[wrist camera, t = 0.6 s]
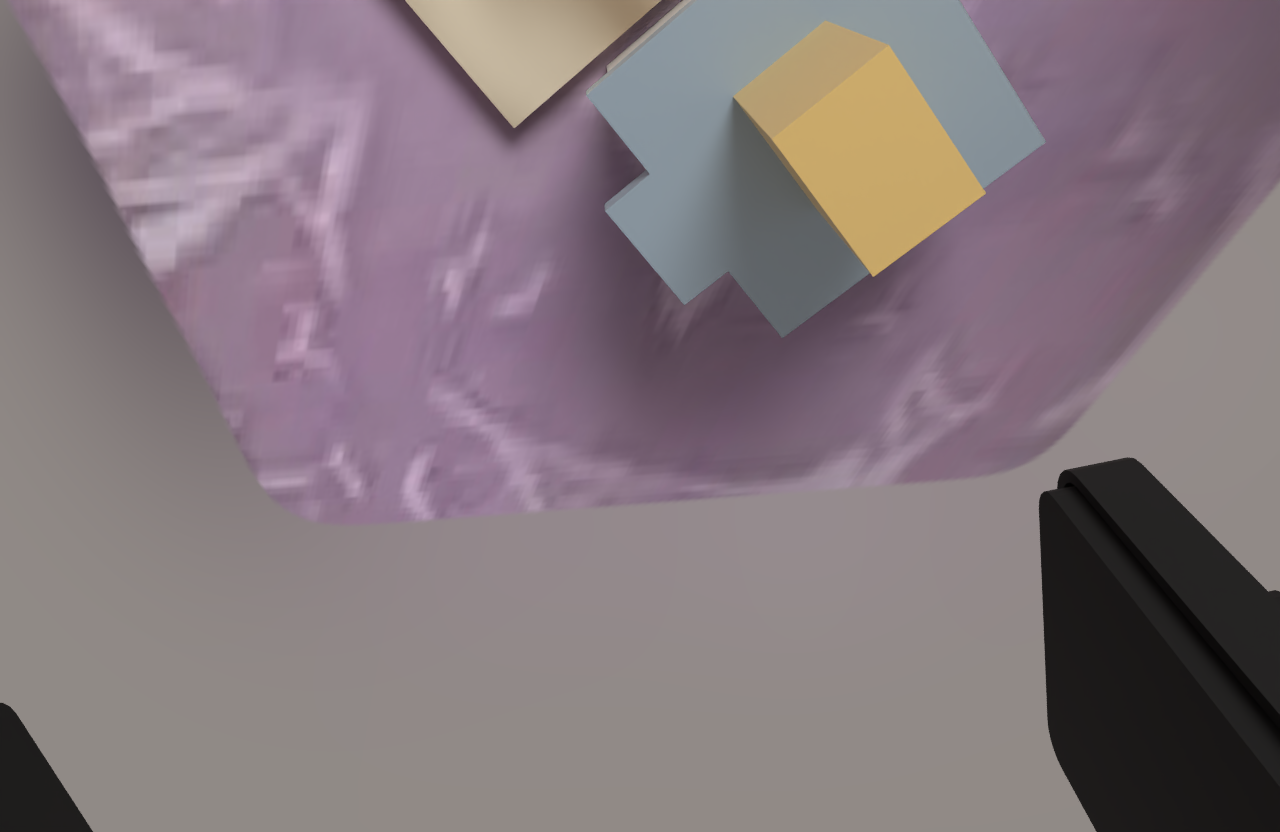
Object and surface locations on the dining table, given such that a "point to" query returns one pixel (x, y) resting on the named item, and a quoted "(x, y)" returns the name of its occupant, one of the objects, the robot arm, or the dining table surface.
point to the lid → (805, 141)
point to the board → (526, 42)
